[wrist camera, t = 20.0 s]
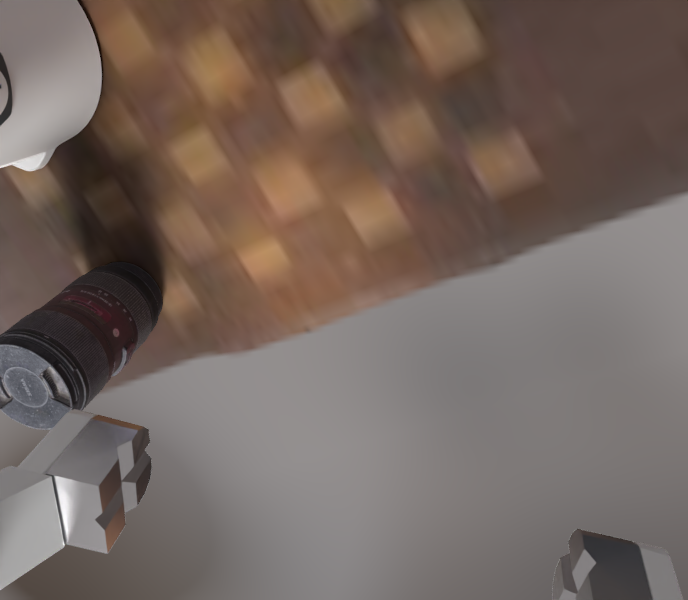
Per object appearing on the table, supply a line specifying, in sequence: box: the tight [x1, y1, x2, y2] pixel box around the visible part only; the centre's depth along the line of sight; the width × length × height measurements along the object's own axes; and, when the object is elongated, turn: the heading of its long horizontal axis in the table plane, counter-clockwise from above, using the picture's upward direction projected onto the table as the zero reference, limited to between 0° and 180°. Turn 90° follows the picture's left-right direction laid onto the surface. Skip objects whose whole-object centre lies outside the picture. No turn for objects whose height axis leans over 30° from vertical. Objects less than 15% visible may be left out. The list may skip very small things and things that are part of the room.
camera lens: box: [0, 262, 163, 430], centre depth 51 cm, size 8×8×15 cm
